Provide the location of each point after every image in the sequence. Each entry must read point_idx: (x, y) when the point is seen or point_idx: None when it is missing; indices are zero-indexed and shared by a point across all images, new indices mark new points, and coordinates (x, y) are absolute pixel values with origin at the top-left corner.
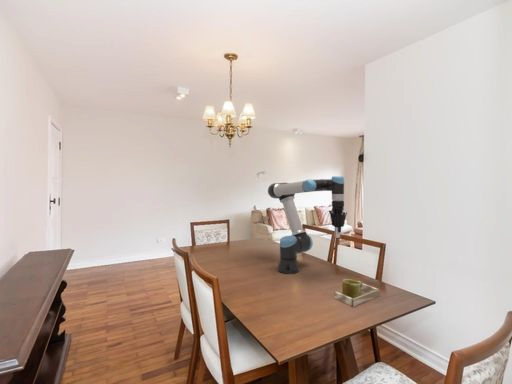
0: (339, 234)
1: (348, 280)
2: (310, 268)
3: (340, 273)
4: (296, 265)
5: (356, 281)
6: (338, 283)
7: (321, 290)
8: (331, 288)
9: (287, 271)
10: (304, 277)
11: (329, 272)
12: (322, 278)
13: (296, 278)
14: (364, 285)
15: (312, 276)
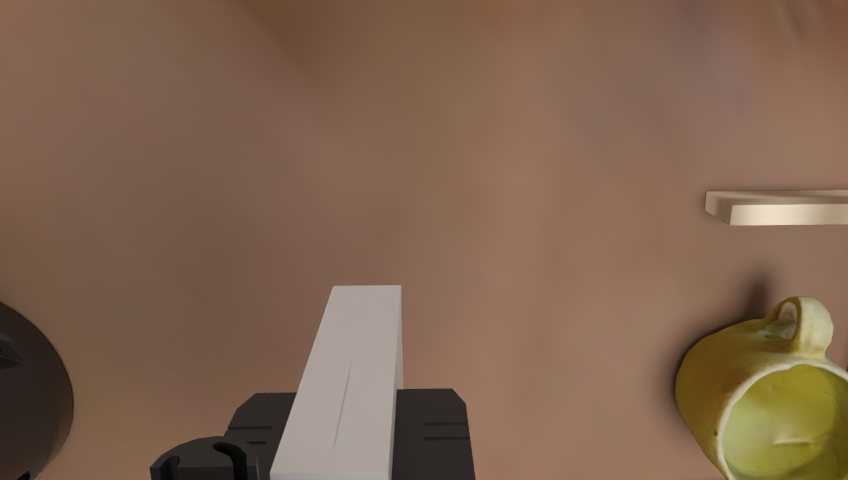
0: (399, 353)
1: (733, 402)
2: (7, 166)
3: (315, 8)
4: (11, 405)
5: (801, 363)
6: (501, 256)
7: (515, 472)
8: (538, 386)
9: (40, 472)
10: (210, 394)
11: (223, 89)
12: (321, 282)
13: None
14: (785, 223)
15: (227, 320)
